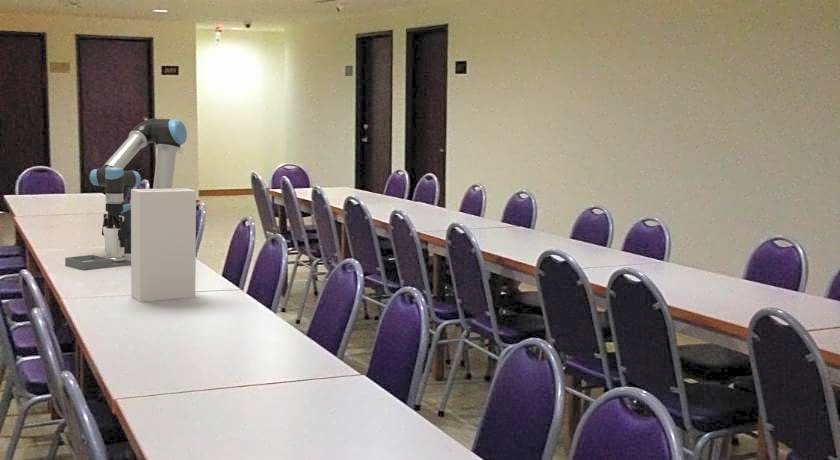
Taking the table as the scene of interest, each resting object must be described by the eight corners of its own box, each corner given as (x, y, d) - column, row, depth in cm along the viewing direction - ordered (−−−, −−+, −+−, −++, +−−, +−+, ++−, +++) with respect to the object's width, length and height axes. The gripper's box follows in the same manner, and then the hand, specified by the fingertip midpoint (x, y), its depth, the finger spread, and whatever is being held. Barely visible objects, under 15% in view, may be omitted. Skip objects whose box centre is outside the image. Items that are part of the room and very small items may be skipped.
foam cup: (118, 258, 418) (118, 229, 416) (99, 257, 419) (99, 228, 418) (129, 255, 427) (129, 226, 425) (110, 254, 429) (110, 225, 427)
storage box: (140, 302, 345) (139, 191, 340) (131, 296, 354) (130, 189, 349) (195, 297, 357) (196, 190, 352) (185, 292, 366) (186, 188, 361)
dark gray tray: (116, 259, 433) (116, 252, 432) (135, 264, 423) (135, 256, 423) (65, 265, 414) (65, 257, 413) (84, 270, 404) (83, 262, 404)
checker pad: (118, 258, 430) (118, 254, 430) (129, 261, 424) (129, 256, 424) (100, 260, 423) (100, 256, 423) (111, 263, 417) (111, 258, 417)
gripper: (93, 200, 424) (93, 250, 427) (121, 205, 410) (121, 257, 413) (108, 200, 430) (108, 249, 433) (136, 204, 416) (136, 255, 419)
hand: (114, 253), depth 423 cm, fingers closed on foam cup, 9 cm apart
